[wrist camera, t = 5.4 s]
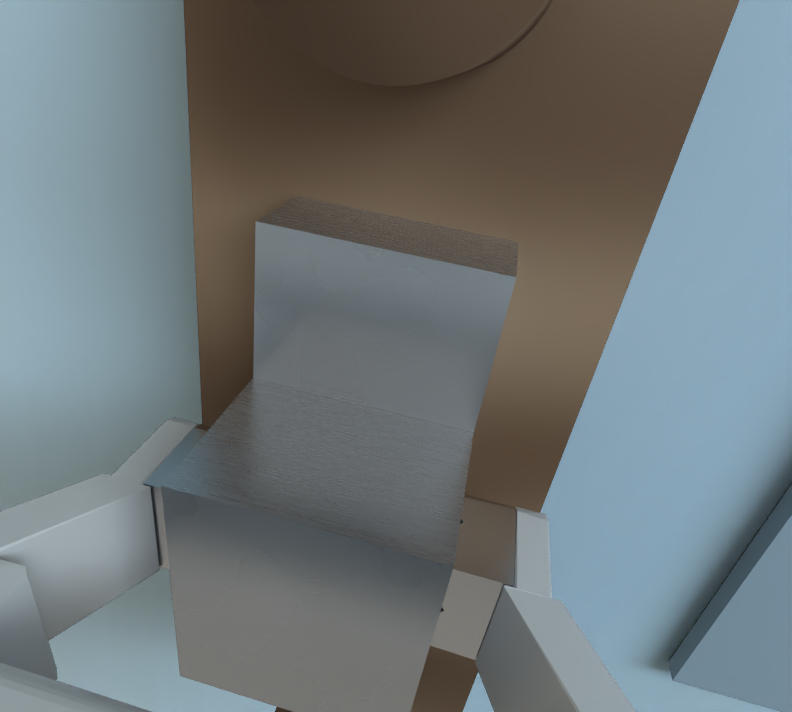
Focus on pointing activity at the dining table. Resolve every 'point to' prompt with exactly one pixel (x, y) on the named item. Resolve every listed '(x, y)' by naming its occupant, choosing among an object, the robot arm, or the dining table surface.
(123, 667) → the dining table surface
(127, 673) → the dining table surface
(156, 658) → the dining table surface
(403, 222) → the lever cap
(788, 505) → the rubber mat
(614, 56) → the plane body
